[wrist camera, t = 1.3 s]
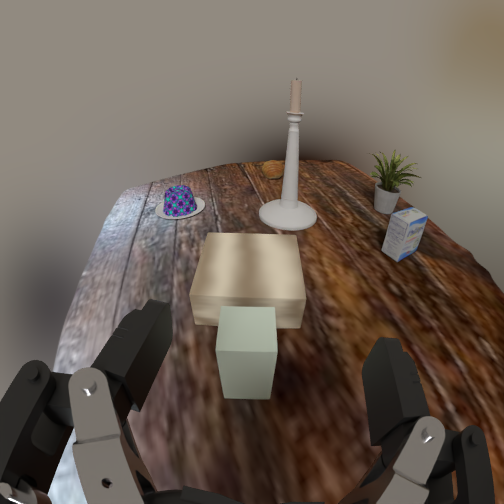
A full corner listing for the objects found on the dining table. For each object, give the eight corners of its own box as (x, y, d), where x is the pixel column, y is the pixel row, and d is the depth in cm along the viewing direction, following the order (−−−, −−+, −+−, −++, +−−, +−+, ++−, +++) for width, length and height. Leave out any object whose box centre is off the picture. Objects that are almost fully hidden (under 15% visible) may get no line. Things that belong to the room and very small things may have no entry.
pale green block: (268, 362, 31) (274, 307, 25) (269, 399, 27) (277, 351, 21) (226, 361, 31) (220, 306, 25) (224, 398, 27) (215, 350, 21)
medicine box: (396, 263, 47) (410, 223, 42) (380, 251, 50) (391, 212, 45) (416, 251, 50) (428, 215, 45) (400, 241, 53) (411, 205, 48)
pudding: (146, 212, 63) (143, 192, 60) (184, 195, 70) (182, 176, 67) (175, 227, 56) (171, 205, 53) (215, 207, 64) (214, 187, 61)
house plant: (371, 225, 58) (386, 157, 48) (345, 198, 69) (354, 139, 60) (415, 223, 60) (431, 162, 50) (387, 198, 71) (398, 145, 62)
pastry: (285, 181, 78) (286, 168, 76) (262, 180, 78) (262, 168, 76) (282, 170, 86) (282, 159, 84) (261, 170, 86) (261, 159, 84)
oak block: (292, 264, 47) (296, 235, 43) (299, 329, 36) (306, 298, 32) (210, 262, 47) (208, 232, 44) (195, 325, 36) (189, 294, 32)
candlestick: (273, 198, 68) (278, 77, 50) (322, 211, 63) (336, 82, 45) (248, 220, 58) (249, 75, 41) (305, 236, 54) (320, 79, 36)
